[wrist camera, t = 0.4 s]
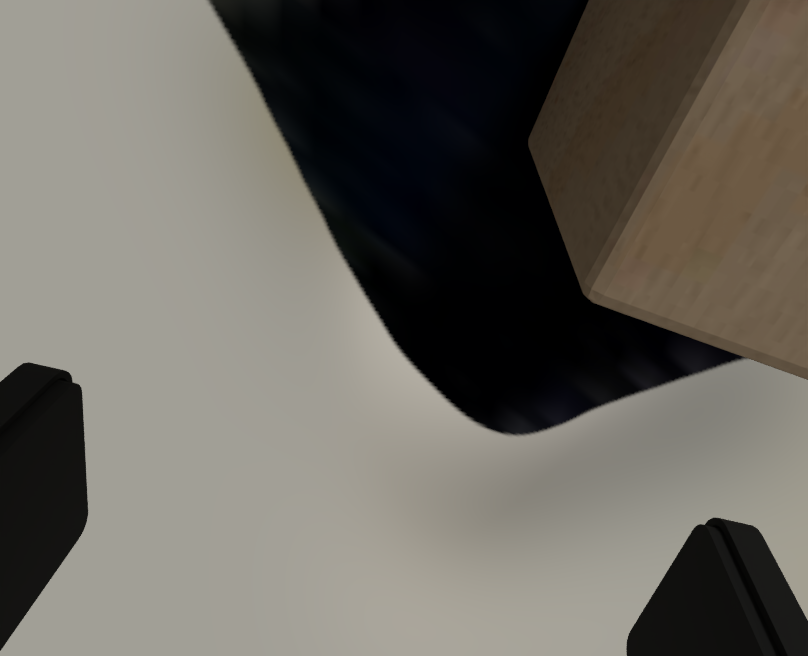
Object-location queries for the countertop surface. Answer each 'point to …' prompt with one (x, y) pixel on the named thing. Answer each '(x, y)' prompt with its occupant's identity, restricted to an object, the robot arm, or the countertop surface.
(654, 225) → the wooden block
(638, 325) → the countertop surface
